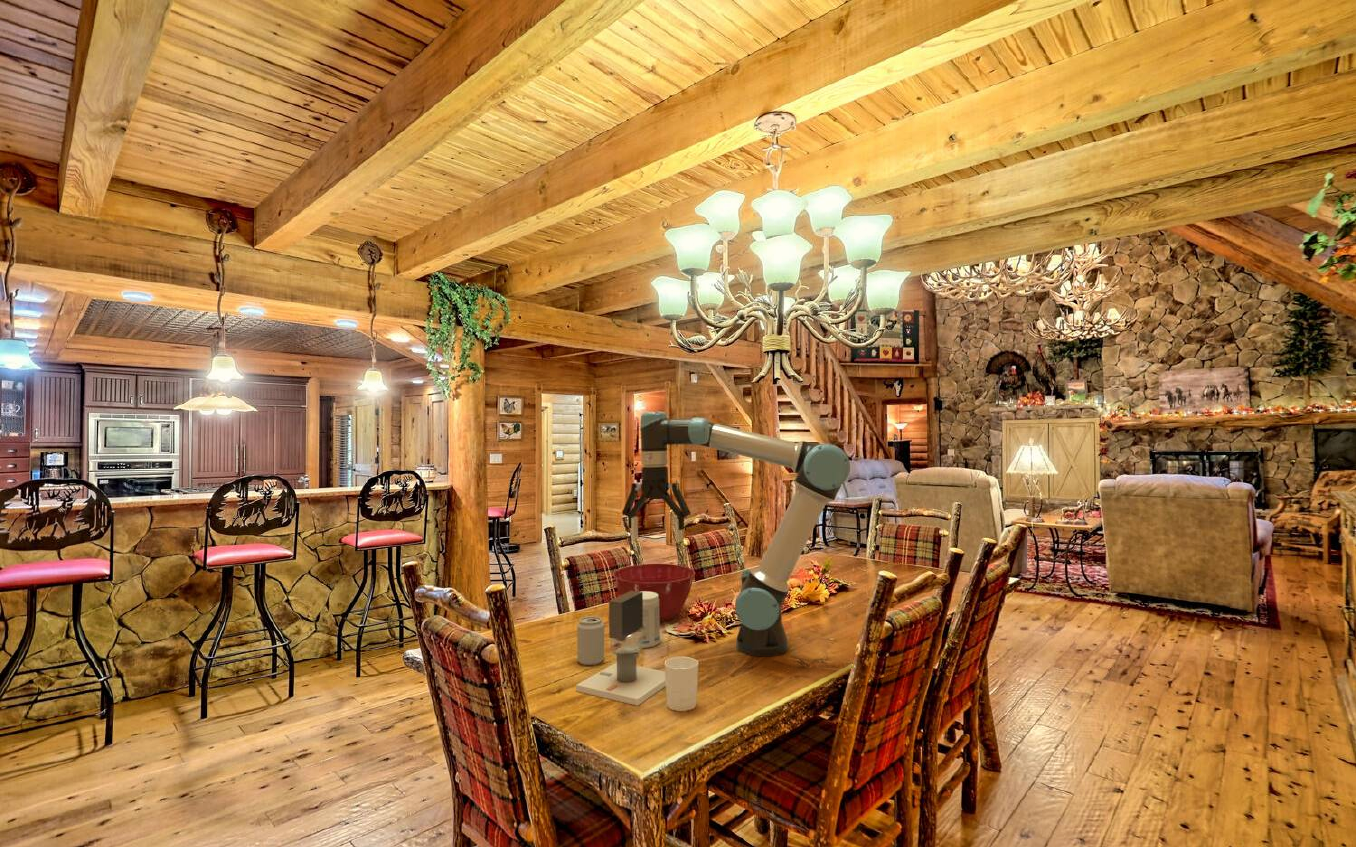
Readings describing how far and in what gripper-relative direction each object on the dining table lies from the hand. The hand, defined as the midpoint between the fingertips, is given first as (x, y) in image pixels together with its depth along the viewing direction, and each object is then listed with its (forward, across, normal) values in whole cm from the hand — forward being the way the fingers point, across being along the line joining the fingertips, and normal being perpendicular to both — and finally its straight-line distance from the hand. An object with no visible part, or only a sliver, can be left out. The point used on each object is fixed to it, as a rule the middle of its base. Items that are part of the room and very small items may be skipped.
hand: (656, 540), depth 180 cm
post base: (+33, 0, -21) cm, 39 cm away
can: (+33, -17, -10) cm, 38 cm away
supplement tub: (+33, -9, +9) cm, 36 cm away
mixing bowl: (+33, -18, +37) cm, 52 cm away
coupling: (+24, 0, -21) cm, 32 cm away
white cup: (+34, +17, -27) cm, 47 cm away
